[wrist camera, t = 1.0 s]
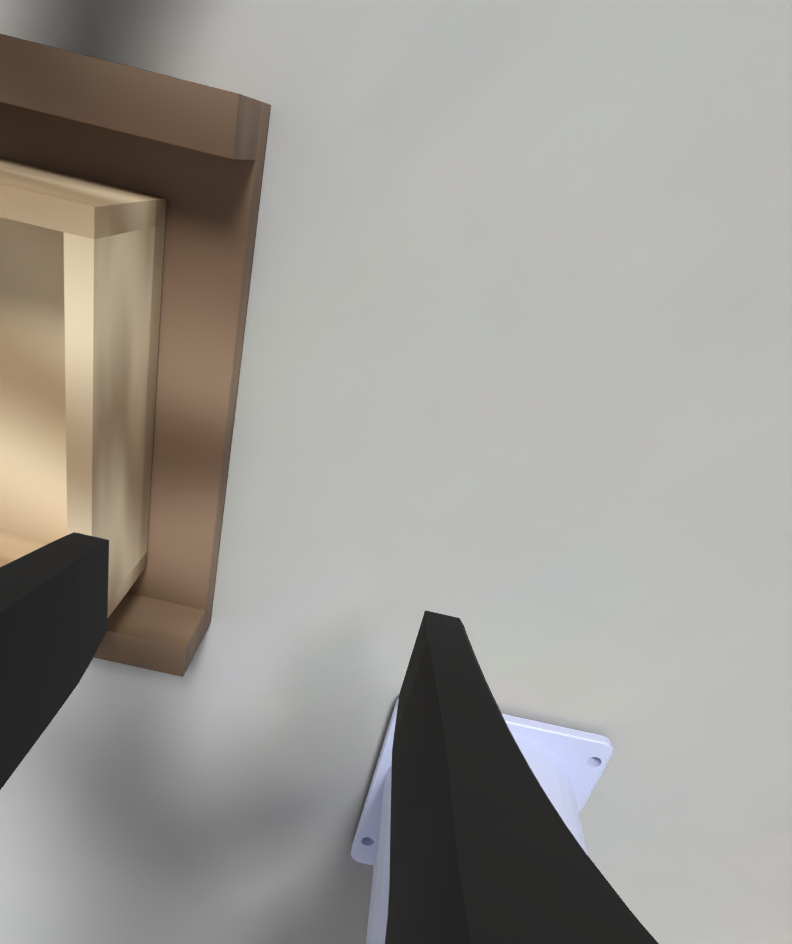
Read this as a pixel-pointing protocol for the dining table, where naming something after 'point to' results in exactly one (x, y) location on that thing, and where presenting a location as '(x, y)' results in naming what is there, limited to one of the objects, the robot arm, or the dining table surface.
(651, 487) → the dining table surface
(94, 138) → the bay
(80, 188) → the light wooden drawer
